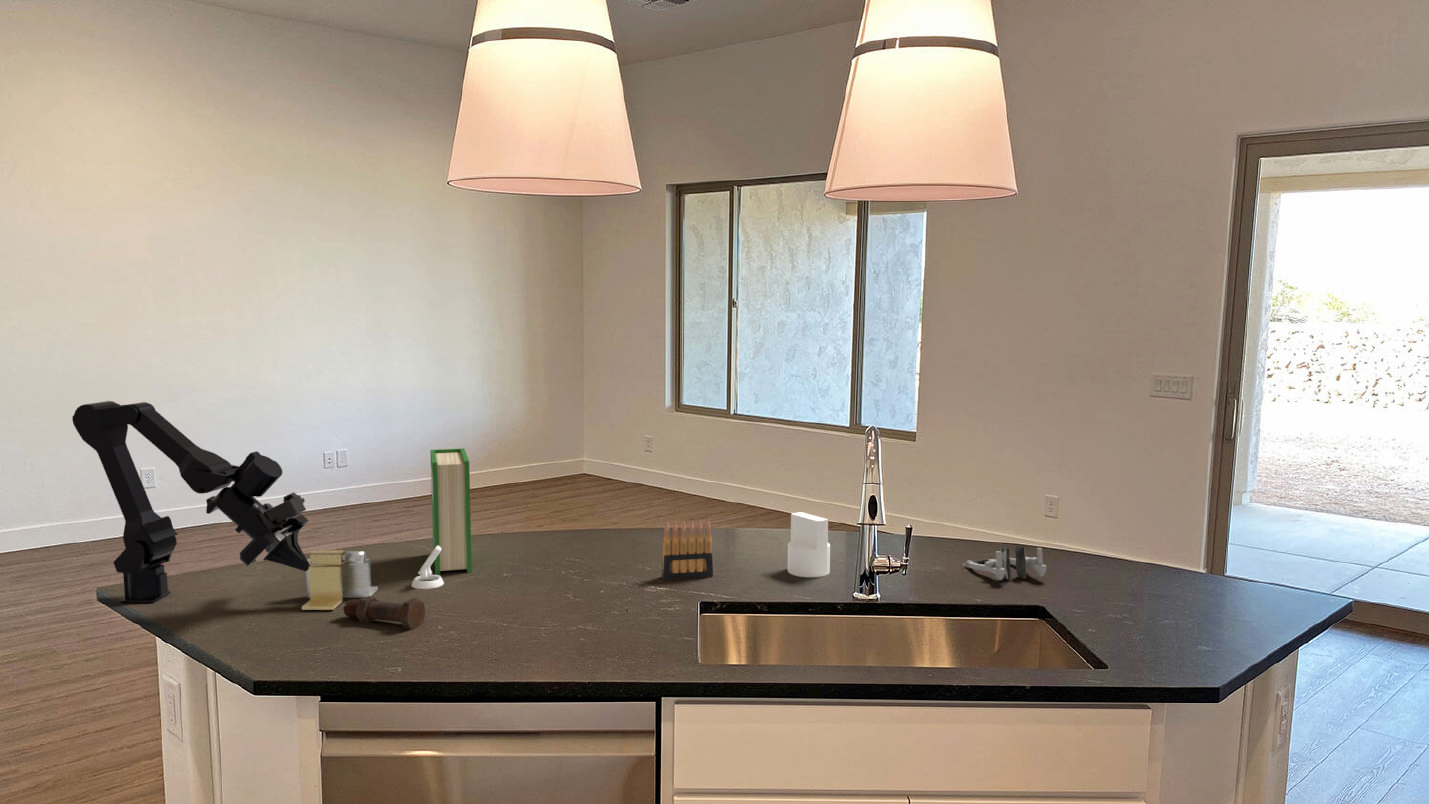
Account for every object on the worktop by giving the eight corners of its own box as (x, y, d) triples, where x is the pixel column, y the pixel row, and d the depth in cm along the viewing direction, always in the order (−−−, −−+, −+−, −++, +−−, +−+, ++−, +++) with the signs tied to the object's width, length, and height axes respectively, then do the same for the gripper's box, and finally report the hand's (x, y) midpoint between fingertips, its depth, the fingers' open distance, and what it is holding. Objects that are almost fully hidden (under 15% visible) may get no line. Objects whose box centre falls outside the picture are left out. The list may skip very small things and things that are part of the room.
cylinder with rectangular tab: (778, 569, 212) (779, 515, 211) (809, 563, 218) (810, 510, 216) (807, 579, 205) (807, 523, 204) (838, 572, 211) (839, 517, 209)
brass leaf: (301, 609, 183) (299, 560, 182) (316, 597, 190) (314, 550, 189) (333, 609, 183) (331, 560, 182) (346, 597, 191) (345, 550, 190)
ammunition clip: (663, 579, 205) (663, 523, 203) (661, 577, 207) (661, 521, 205) (713, 576, 207) (713, 520, 206) (711, 574, 209) (711, 518, 208)
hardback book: (471, 572, 209) (469, 461, 207) (435, 575, 207) (432, 462, 204) (466, 551, 226) (464, 448, 223) (433, 553, 224) (430, 449, 221)
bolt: (352, 626, 181) (420, 633, 176) (334, 620, 177) (404, 627, 172) (361, 595, 183) (428, 601, 178) (344, 588, 179) (413, 594, 174)
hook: (457, 568, 197) (432, 554, 195) (431, 605, 199) (406, 591, 197) (462, 554, 203) (437, 540, 201) (436, 589, 205) (412, 576, 203)
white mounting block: (300, 602, 188) (298, 553, 187) (317, 589, 197) (315, 541, 196) (363, 602, 188) (361, 553, 187) (377, 589, 197) (376, 541, 196)
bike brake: (1054, 579, 203) (1006, 568, 223) (1052, 546, 204) (1005, 537, 223) (994, 584, 201) (951, 572, 220) (992, 551, 201) (949, 541, 220)
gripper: (253, 492, 176) (318, 552, 177) (295, 473, 194) (354, 528, 196) (211, 535, 177) (276, 595, 178) (257, 512, 195) (316, 566, 196)
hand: (308, 569), depth 187 cm, fingers closed, pressing on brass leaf
